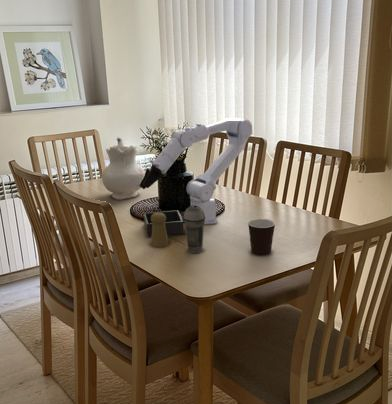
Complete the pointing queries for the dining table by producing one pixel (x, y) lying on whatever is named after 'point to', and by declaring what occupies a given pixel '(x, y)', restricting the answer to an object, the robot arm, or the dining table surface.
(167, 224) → the bin
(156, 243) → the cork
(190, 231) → the beverage cup
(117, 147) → the ceramic pitcher
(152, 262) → the dining table surface
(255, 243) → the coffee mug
